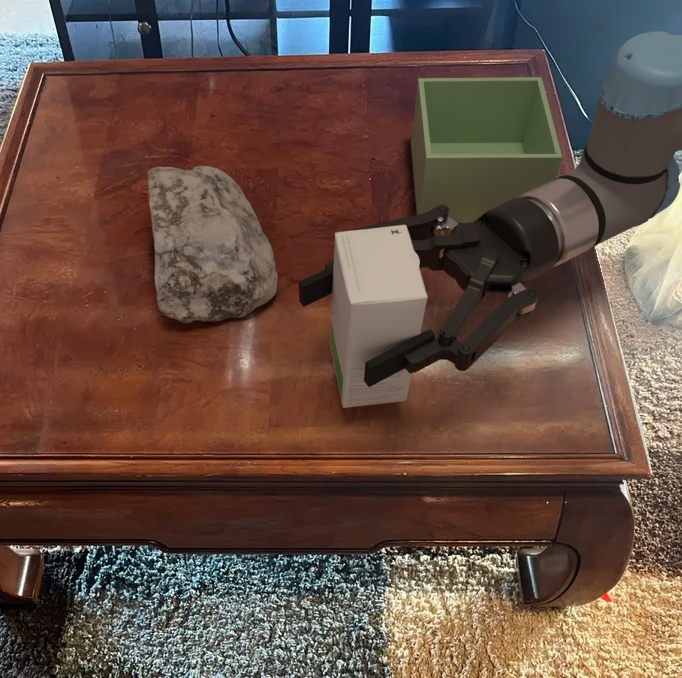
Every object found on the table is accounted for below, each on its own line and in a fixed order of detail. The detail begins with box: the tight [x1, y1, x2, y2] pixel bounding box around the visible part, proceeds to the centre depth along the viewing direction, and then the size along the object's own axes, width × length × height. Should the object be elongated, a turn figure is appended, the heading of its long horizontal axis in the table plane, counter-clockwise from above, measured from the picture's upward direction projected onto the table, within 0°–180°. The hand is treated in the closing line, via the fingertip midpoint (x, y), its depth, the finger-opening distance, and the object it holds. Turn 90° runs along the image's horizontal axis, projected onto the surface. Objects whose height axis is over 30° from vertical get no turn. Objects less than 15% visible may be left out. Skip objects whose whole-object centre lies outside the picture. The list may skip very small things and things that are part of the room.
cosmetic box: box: [329, 225, 429, 409], centre depth 71 cm, size 8×7×16 cm
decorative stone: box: [146, 165, 279, 324], centre depth 88 cm, size 20×14×10 cm
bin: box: [410, 76, 563, 224], centre depth 93 cm, size 14×14×10 cm
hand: (332, 333), depth 69 cm, fingers closed on cosmetic box, 10 cm apart
